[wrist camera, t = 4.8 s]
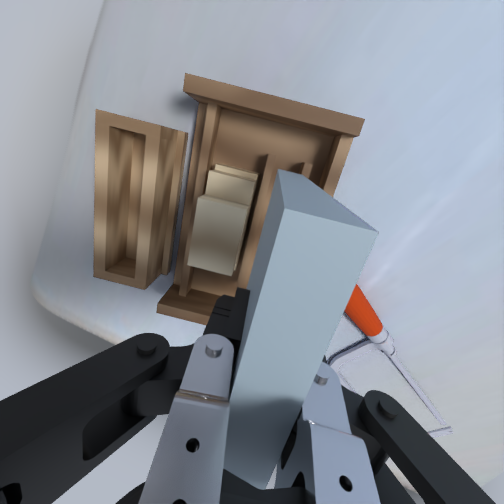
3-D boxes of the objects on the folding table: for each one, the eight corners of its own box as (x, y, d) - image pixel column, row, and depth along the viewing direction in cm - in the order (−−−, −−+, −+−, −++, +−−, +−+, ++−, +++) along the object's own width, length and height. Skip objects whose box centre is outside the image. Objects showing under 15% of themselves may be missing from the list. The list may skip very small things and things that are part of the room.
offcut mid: (214, 169, 24) (209, 170, 22) (256, 180, 24) (254, 182, 22) (200, 248, 26) (194, 255, 24) (238, 257, 27) (235, 266, 24)
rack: (204, 91, 25) (185, 73, 19) (345, 127, 25) (364, 119, 19) (175, 287, 32) (156, 312, 27) (282, 314, 32) (284, 345, 27)
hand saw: (469, 439, 35) (400, 462, 38) (454, 417, 38) (391, 439, 41) (344, 267, 26) (267, 313, 29) (337, 255, 29) (267, 298, 32)
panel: (277, 168, 18) (284, 208, 5) (303, 175, 18) (379, 231, 5) (240, 310, 22) (191, 533, 9) (261, 315, 22) (240, 545, 9)
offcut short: (205, 194, 22) (197, 197, 20) (249, 205, 22) (246, 210, 20) (194, 255, 24) (187, 264, 22) (235, 266, 24) (231, 276, 22)
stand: (121, 115, 26) (87, 106, 21) (188, 133, 26) (169, 127, 21) (114, 257, 32) (86, 275, 27) (169, 271, 32) (151, 291, 27)
